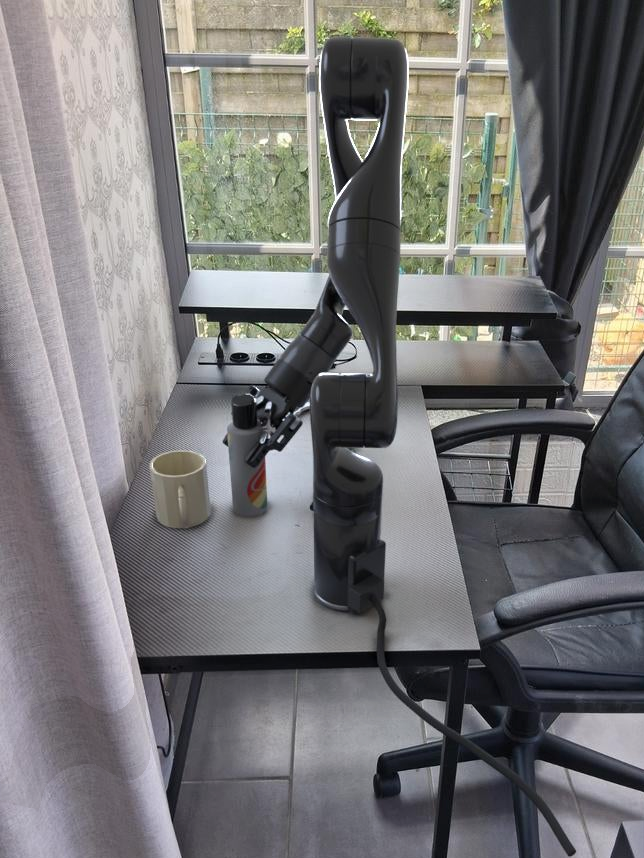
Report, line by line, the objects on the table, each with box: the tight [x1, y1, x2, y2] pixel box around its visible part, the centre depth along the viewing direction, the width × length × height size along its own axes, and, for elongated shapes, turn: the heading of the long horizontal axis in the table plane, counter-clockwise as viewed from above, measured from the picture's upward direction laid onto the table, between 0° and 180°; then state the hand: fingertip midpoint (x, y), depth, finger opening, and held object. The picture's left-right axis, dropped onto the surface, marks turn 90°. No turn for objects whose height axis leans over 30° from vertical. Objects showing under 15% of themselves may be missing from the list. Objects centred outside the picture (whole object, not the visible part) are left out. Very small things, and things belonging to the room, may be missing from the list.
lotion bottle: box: [226, 393, 268, 517], centre depth 127 cm, size 6×6×20 cm
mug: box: [148, 449, 211, 529], centre depth 126 cm, size 12×9×10 cm
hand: (238, 455), depth 126 cm, fingers open, 7 cm apart
